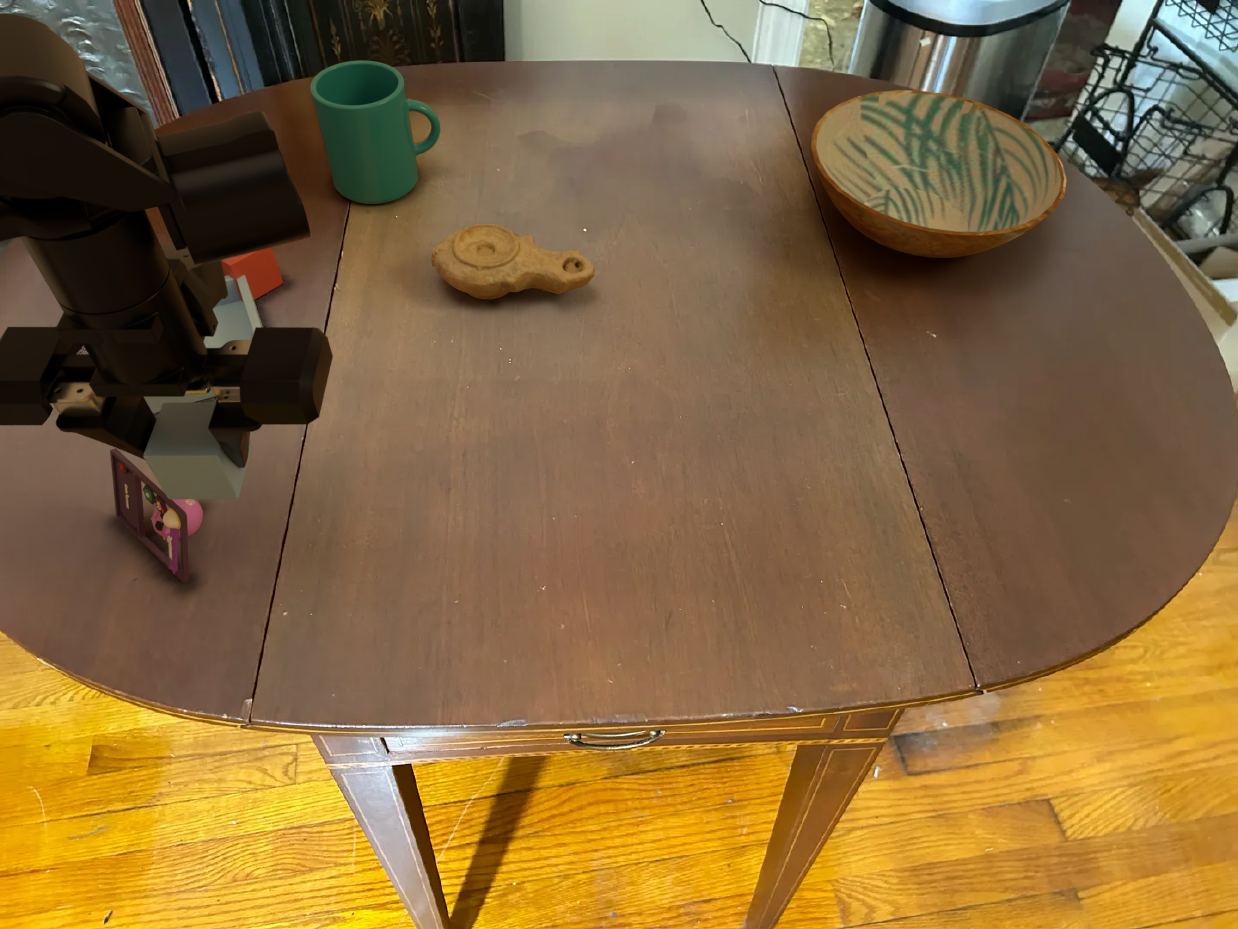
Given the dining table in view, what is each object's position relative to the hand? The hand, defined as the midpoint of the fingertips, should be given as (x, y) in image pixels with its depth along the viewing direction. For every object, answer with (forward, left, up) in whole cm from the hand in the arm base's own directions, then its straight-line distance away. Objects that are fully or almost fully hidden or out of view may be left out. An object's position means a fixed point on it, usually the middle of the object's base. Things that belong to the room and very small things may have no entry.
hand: (207, 462), depth 60 cm
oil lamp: (+29, +21, -11) cm, 37 cm away
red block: (+6, +31, -11) cm, 33 cm away
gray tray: (-1, +23, -11) cm, 26 cm away
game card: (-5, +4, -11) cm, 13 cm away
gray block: (0, 0, -1) cm, 1 cm away
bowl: (+72, +14, -11) cm, 74 cm away
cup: (+23, +42, -11) cm, 49 cm away
